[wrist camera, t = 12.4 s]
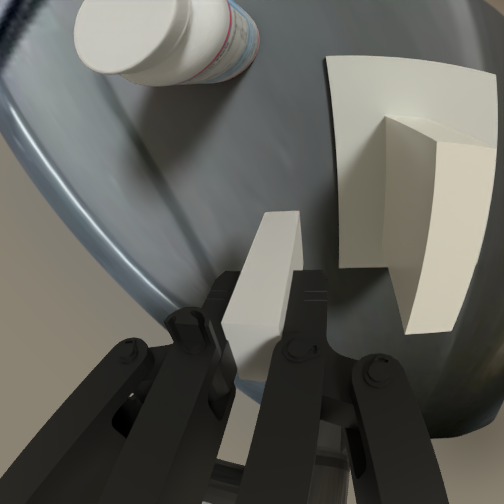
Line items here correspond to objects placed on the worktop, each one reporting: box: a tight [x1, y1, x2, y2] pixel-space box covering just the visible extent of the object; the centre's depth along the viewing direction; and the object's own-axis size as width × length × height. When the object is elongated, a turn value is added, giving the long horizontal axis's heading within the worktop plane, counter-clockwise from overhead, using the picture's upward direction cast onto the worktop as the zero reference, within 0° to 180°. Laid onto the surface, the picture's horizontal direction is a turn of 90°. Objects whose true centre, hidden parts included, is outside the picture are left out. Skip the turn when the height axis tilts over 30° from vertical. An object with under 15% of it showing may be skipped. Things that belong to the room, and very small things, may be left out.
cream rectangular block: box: [382, 116, 496, 334], centre depth 14 cm, size 10×3×9 cm, turn 9°
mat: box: [326, 56, 498, 268], centre depth 17 cm, size 16×13×1 cm
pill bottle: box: [74, 0, 259, 86], centre depth 11 cm, size 6×6×11 cm
